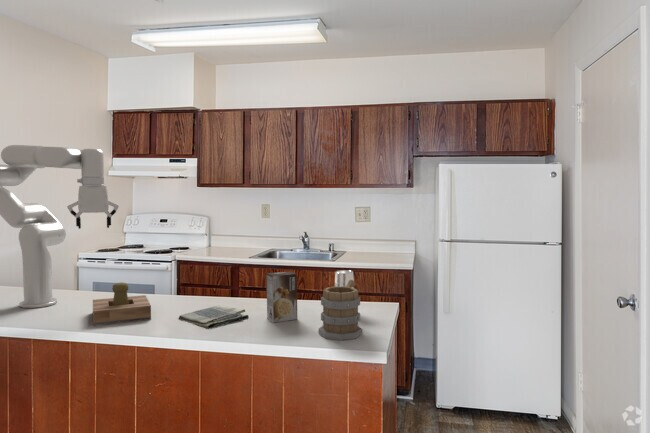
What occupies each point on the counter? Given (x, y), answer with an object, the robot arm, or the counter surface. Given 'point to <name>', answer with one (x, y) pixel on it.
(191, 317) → the dish towel
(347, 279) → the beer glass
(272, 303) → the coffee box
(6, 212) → the robot arm
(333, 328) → the tankard
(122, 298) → the cork
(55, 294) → the counter surface
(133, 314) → the docking block
